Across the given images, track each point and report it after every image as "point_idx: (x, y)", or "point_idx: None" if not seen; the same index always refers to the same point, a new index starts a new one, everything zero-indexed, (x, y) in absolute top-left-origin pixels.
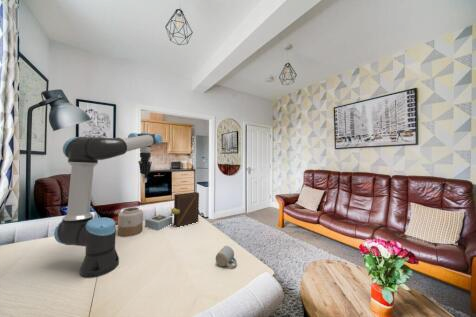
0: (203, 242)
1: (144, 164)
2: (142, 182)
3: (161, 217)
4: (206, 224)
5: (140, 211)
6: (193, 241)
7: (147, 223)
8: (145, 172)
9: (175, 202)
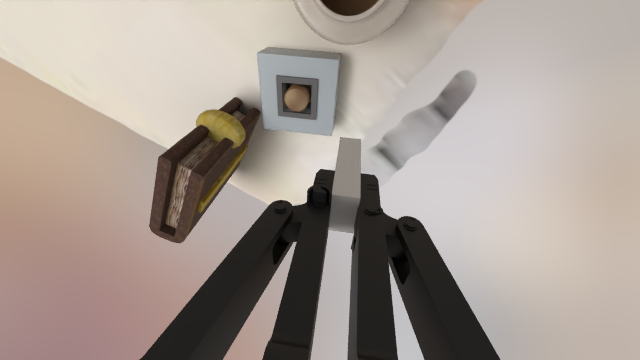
0: (77, 37)
1: None
2: (360, 139)
3: (285, 100)
4: None
5: (309, 10)
6: (102, 28)
7: (325, 55)
8: (304, 217)
9: (211, 151)
